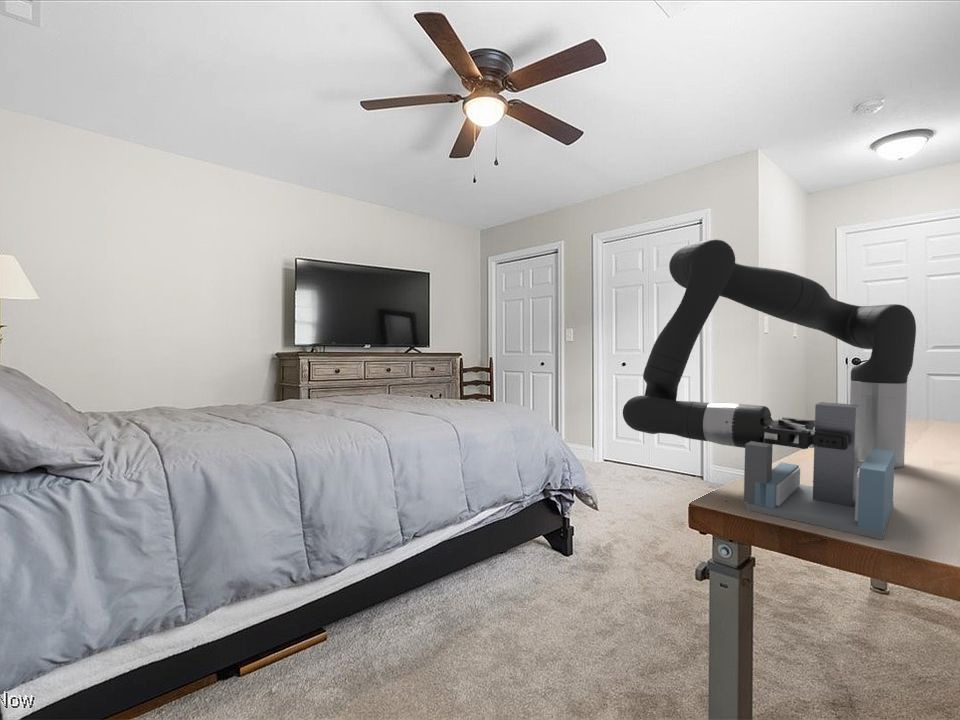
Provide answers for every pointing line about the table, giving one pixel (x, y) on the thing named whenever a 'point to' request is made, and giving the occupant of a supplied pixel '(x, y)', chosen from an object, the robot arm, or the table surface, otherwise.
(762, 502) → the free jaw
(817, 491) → the steel block
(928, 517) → the table surface
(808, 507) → the vise base
